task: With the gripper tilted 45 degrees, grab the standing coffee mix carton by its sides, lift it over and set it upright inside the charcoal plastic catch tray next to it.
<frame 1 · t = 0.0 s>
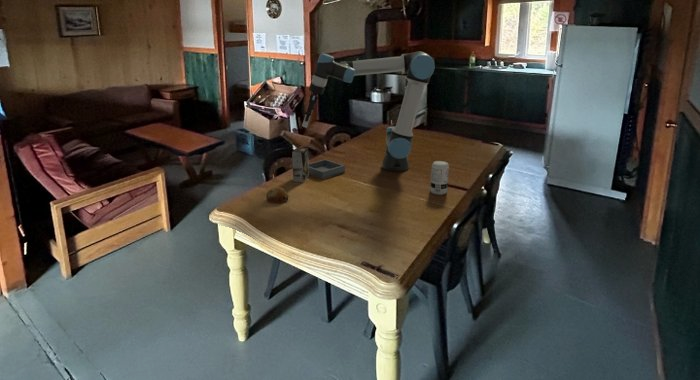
hand: (305, 123, 258), 28 cm above the table, tool tilted 20°, fingers open, 13 cm apart
catch tray: (324, 172, 271), on the table
coffee box: (301, 179, 261), on the table
bread roll: (278, 200, 234), on the table
supplement can: (438, 192, 244), on the table
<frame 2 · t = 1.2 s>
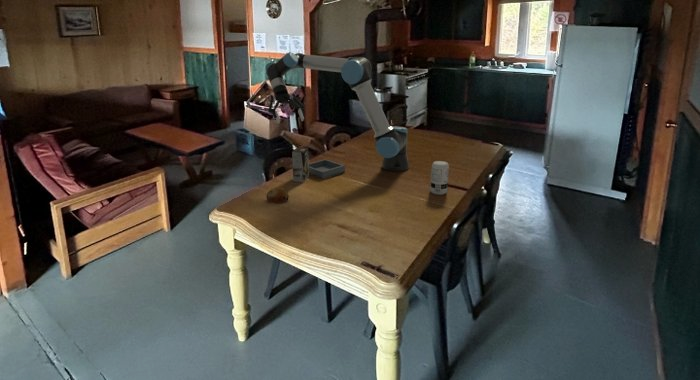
hand: (291, 121, 262), 28 cm above the table, tool tilted 45°, fingers open, 13 cm apart
nothing on the table moved.
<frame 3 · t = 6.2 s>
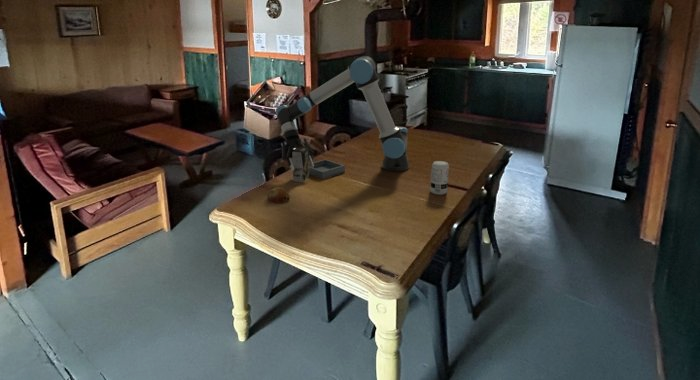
hand: (303, 168, 256), 7 cm above the table, tool tilted 45°, fingers closed on coffee box, 10 cm apart
coffee box: (301, 179, 261), on the table, touching gripper
everything else where it was.
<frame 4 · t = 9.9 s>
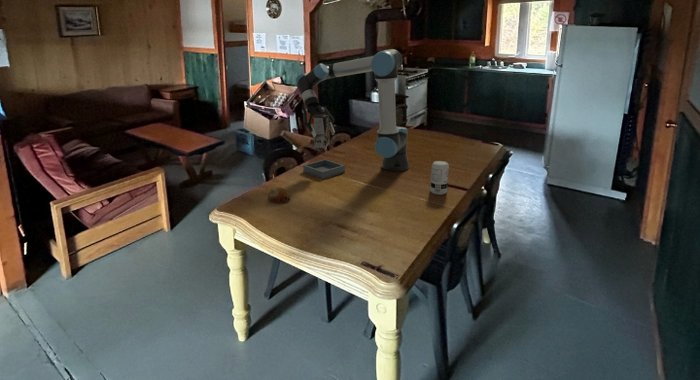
hand: (324, 135, 260), 22 cm above the table, tool tilted 45°, fingers closed on coffee box, 10 cm apart
coffee box: (322, 146, 265), point 15 cm above the table, touching gripper
everything else where it was.
when the fingers open (8 cm above the table, at t = 14.0 s): coffee box stays where it is, resting on catch tray.
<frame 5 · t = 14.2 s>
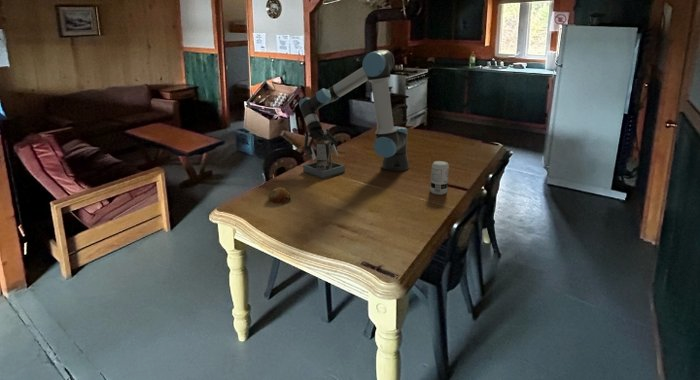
hand: (325, 157, 266), 9 cm above the table, tool tilted 45°, fingers open, 12 cm apart
coffee box: (324, 170, 271), point 1 cm above the table, touching catch tray
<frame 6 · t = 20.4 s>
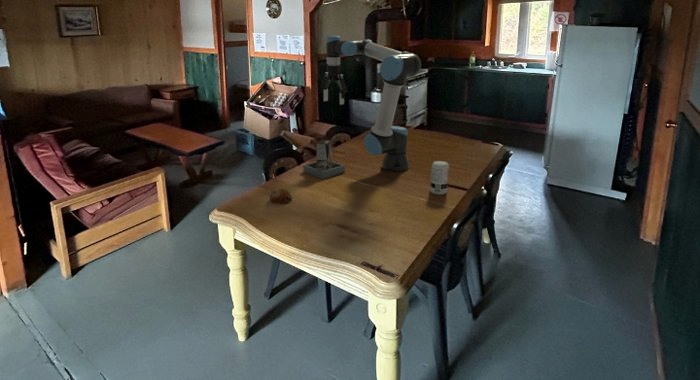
hand: (333, 102, 286), 33 cm above the table, tool pointing down, fingers open, 13 cm apart
at the end: coffee box inside the target area on the catch tray (0.3 cm from its centre), point 0.8 cm above the catch tray's base; coffee box tilted 0°; the gripper is holding nothing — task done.
